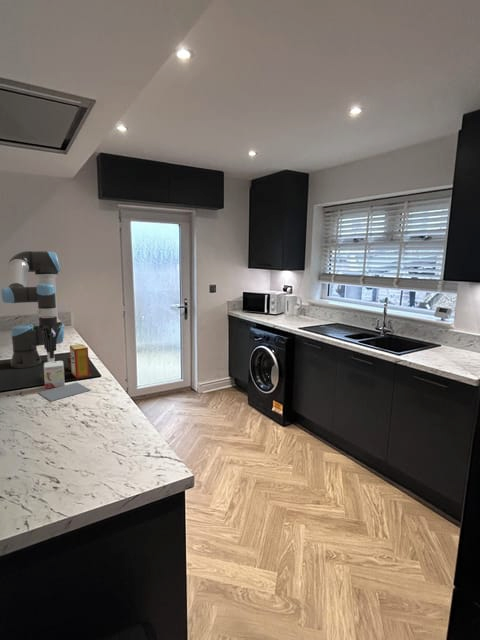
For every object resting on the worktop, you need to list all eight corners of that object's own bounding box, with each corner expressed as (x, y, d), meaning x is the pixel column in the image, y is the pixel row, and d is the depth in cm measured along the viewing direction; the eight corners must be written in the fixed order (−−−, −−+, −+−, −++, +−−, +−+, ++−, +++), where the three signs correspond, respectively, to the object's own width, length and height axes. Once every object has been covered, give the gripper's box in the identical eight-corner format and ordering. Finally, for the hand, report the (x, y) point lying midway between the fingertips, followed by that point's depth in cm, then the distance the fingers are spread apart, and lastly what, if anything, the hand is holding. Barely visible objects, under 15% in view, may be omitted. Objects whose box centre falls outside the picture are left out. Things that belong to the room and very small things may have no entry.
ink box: (45, 389, 169) (43, 367, 164) (44, 383, 173) (42, 362, 168) (65, 386, 173) (63, 364, 169) (64, 381, 177) (62, 360, 173)
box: (77, 371, 195) (76, 358, 194) (68, 370, 196) (67, 357, 195) (84, 367, 201) (83, 355, 200) (75, 366, 202) (74, 354, 201)
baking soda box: (89, 376, 188) (87, 346, 185) (76, 378, 184) (74, 348, 181) (84, 371, 195) (82, 343, 192) (71, 373, 191) (69, 344, 188)
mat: (38, 393, 164) (38, 392, 163) (76, 383, 177) (76, 382, 177) (51, 401, 155) (50, 400, 155) (90, 390, 168) (90, 389, 168)
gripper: (34, 315, 169) (38, 363, 173) (44, 319, 161) (48, 368, 165) (50, 314, 175) (54, 359, 179) (61, 317, 166) (65, 365, 170)
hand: (51, 364), depth 172 cm, fingers closed
